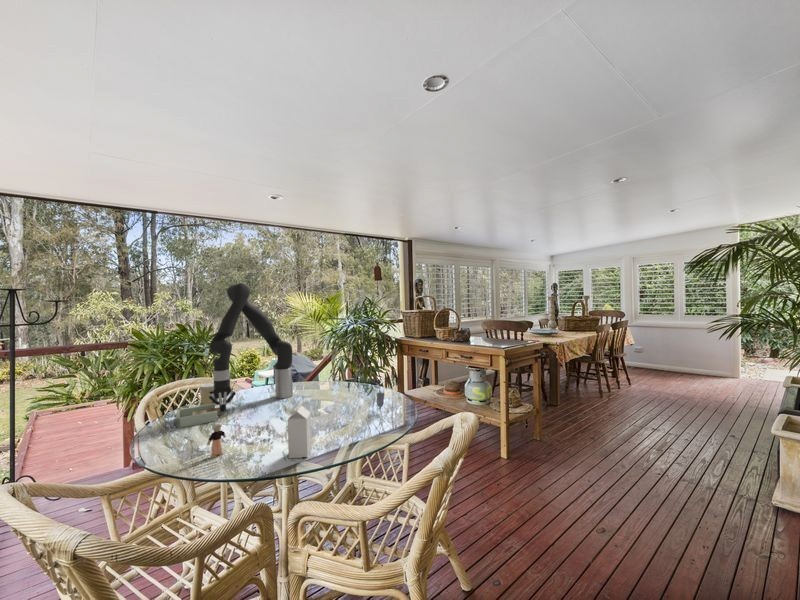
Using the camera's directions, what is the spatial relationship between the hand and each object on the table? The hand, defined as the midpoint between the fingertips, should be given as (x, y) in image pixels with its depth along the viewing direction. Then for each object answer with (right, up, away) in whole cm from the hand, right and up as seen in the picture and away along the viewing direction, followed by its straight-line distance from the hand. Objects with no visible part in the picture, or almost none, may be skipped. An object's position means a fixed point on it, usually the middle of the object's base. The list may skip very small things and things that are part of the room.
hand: (222, 411), depth 182 cm
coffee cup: (-15, -2, +15) cm, 21 cm away
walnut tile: (-5, -2, 0) cm, 5 cm away
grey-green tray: (-10, -2, -6) cm, 12 cm away
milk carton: (+53, -2, -45) cm, 70 cm away
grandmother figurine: (+21, -3, -45) cm, 49 cm away
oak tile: (-9, -2, -4) cm, 11 cm away
